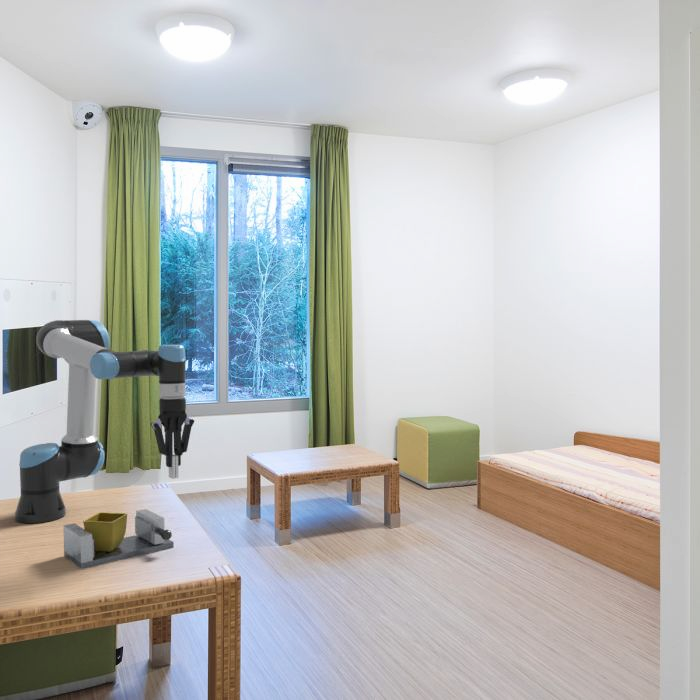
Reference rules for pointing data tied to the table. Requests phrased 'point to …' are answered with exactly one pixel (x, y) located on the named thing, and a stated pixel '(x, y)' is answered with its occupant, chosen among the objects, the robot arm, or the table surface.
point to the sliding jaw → (151, 527)
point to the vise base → (84, 556)
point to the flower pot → (106, 530)
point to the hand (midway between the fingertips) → (173, 477)
